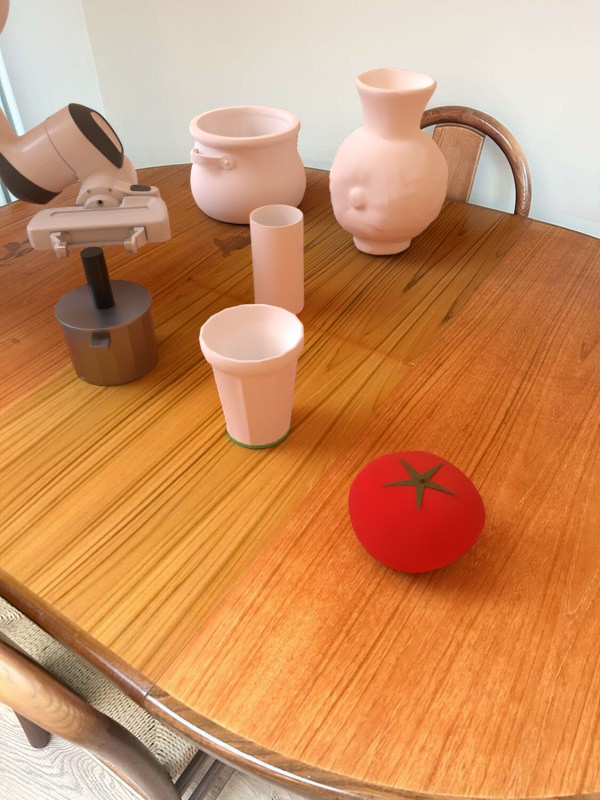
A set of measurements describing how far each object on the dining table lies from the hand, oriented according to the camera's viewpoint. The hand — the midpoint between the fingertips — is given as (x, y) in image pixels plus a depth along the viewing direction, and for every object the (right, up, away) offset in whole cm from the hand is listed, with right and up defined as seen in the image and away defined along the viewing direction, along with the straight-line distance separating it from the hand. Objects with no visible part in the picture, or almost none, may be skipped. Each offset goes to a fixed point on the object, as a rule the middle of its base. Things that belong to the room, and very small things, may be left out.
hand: (95, 251), depth 91 cm
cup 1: (+25, -5, +20) cm, 32 cm away
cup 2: (+23, -24, -4) cm, 34 cm away
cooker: (+1, -15, +8) cm, 17 cm away
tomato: (+40, -36, -18) cm, 57 cm away
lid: (+1, -7, +2) cm, 8 cm away
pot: (+17, +22, +52) cm, 59 cm away
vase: (+44, +9, +36) cm, 58 cm away
